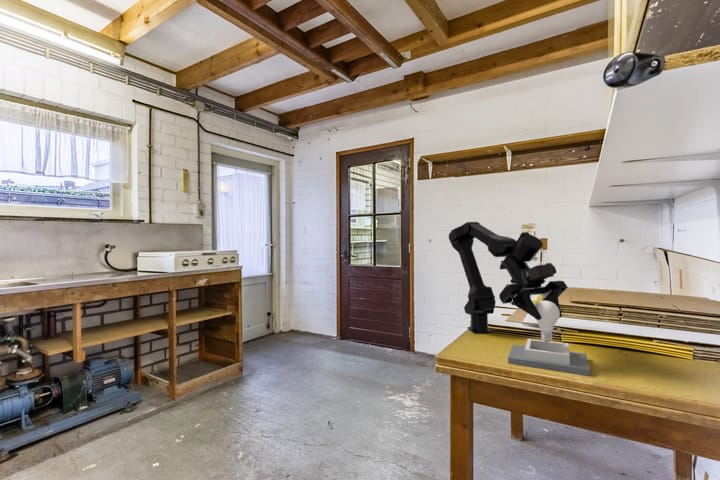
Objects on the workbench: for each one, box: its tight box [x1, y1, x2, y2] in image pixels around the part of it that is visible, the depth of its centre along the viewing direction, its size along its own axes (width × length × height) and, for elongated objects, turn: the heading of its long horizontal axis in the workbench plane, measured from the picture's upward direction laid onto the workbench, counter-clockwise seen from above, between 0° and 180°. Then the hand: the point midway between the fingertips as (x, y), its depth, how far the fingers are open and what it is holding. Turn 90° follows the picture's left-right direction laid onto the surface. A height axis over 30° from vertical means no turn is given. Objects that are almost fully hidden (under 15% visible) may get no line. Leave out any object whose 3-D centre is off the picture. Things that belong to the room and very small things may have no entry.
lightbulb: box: [534, 300, 560, 342], centre depth 90 cm, size 6×6×11 cm
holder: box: [507, 338, 591, 377], centre depth 90 cm, size 18×12×4 cm, turn 59°
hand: (550, 318), depth 89 cm, fingers closed on lightbulb, 6 cm apart
